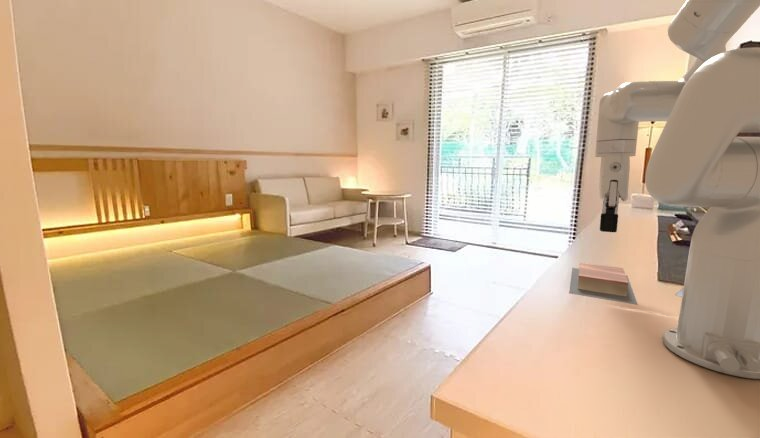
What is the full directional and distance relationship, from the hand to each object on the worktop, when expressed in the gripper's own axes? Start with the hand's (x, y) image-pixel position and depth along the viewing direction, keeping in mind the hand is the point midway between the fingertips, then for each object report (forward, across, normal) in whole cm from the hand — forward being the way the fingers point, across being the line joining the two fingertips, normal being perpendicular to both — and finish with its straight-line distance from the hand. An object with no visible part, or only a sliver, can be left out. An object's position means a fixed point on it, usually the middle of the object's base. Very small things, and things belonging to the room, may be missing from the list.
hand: (607, 231), depth 80 cm
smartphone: (+13, +4, -18) cm, 23 cm away
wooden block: (+10, +5, +1) cm, 11 cm away
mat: (+13, -1, +1) cm, 13 cm away
